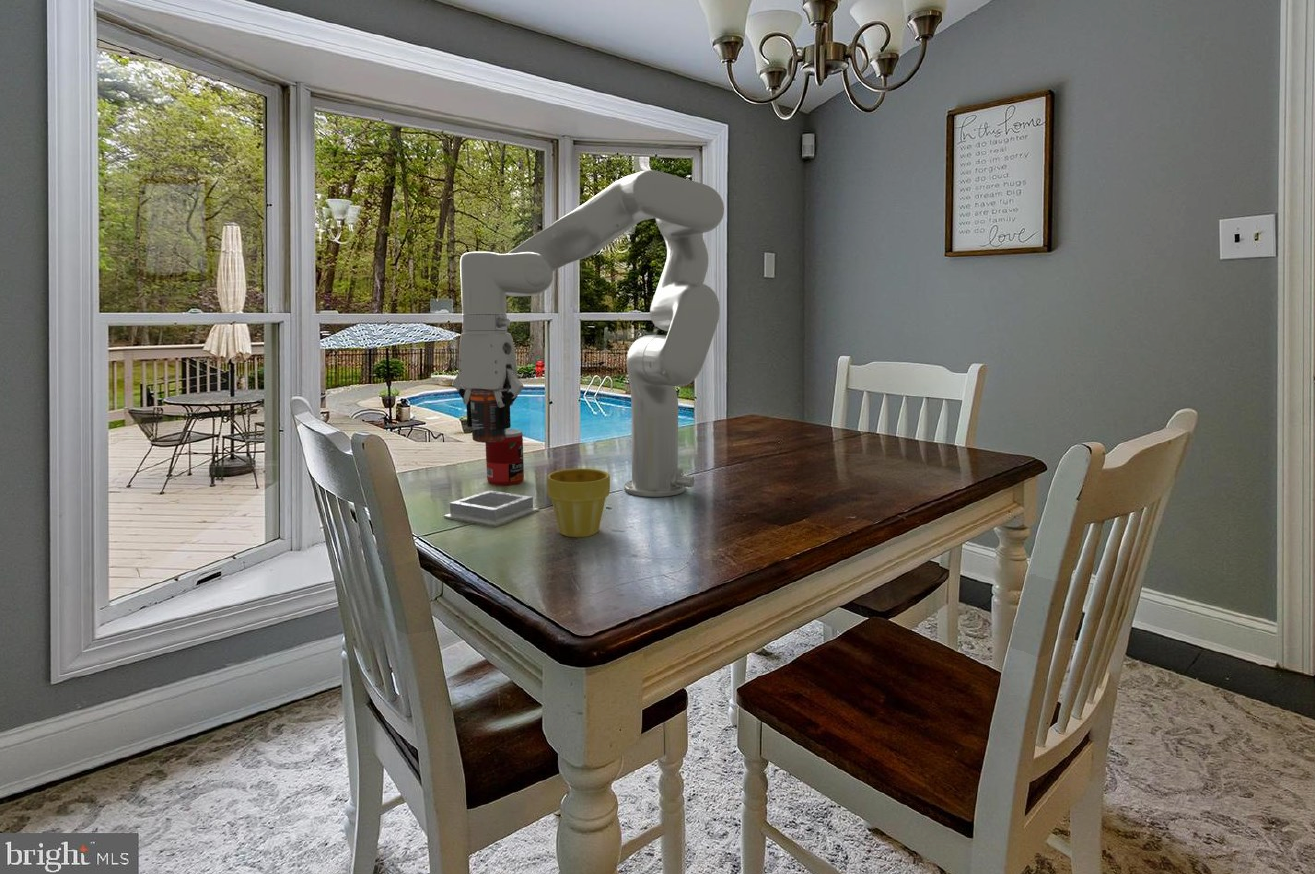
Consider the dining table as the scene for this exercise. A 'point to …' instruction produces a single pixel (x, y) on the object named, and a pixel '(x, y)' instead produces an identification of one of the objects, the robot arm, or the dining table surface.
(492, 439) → the supplement bottle
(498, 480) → the canned food
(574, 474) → the plant pot
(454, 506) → the holder
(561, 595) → the dining table surface
